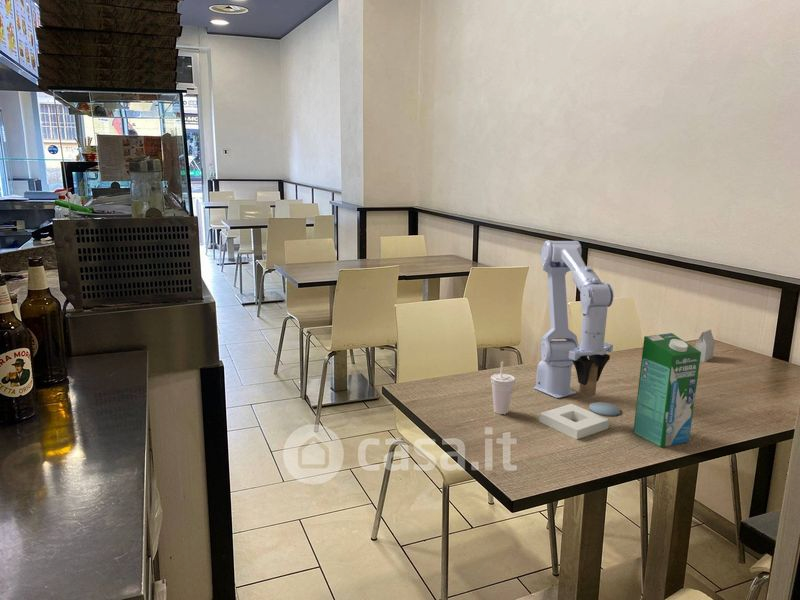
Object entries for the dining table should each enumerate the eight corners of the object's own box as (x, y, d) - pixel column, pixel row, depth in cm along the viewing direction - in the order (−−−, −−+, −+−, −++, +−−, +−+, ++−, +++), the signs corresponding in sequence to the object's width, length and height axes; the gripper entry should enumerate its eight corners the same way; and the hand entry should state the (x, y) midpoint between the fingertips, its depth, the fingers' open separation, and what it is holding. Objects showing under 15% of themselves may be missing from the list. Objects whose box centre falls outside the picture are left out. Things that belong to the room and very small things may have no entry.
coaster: (582, 408, 164) (583, 406, 164) (601, 402, 168) (602, 400, 168) (607, 418, 157) (607, 416, 157) (626, 412, 162) (626, 409, 162)
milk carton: (661, 447, 142) (674, 346, 136) (632, 432, 150) (643, 335, 144) (689, 441, 145) (702, 342, 140) (659, 426, 153) (671, 332, 148)
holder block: (539, 421, 155) (540, 413, 154) (570, 412, 161) (571, 403, 161) (576, 439, 145) (577, 430, 144) (608, 428, 152) (609, 419, 151)
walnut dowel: (575, 391, 156) (578, 364, 154) (586, 388, 158) (588, 361, 156) (588, 396, 152) (591, 368, 151) (598, 393, 154) (601, 366, 153)
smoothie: (484, 408, 162) (487, 359, 159) (504, 405, 165) (507, 356, 161) (497, 418, 156) (500, 367, 153) (517, 414, 159) (521, 364, 156)
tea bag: (712, 358, 210) (716, 330, 208) (704, 362, 206) (708, 333, 204) (701, 355, 213) (705, 328, 211) (693, 359, 208) (697, 331, 206)
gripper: (586, 339, 144) (581, 392, 147) (624, 331, 152) (619, 381, 155) (564, 332, 150) (559, 383, 153) (601, 324, 158) (597, 373, 161)
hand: (588, 382), depth 154 cm, fingers closed on walnut dowel, 4 cm apart
